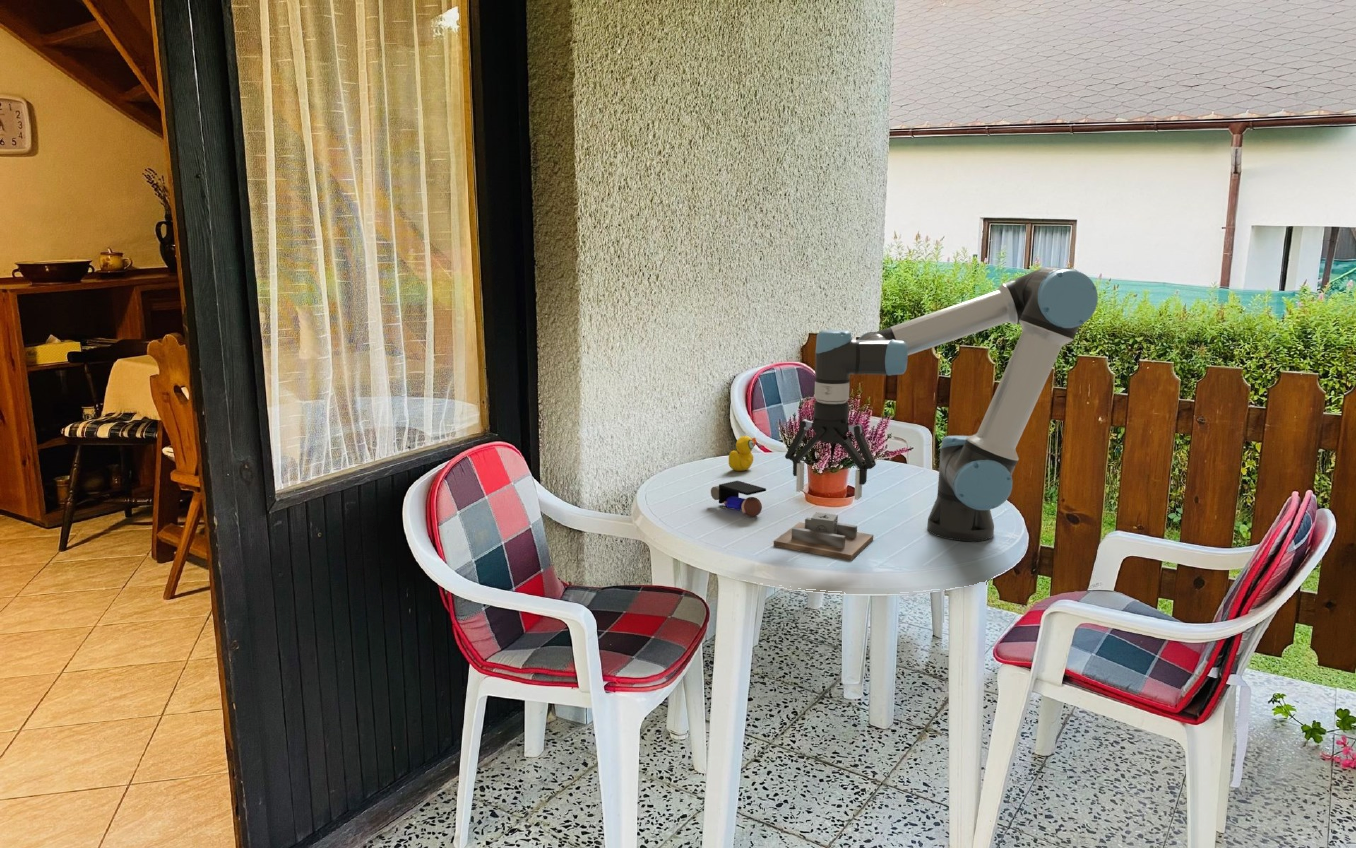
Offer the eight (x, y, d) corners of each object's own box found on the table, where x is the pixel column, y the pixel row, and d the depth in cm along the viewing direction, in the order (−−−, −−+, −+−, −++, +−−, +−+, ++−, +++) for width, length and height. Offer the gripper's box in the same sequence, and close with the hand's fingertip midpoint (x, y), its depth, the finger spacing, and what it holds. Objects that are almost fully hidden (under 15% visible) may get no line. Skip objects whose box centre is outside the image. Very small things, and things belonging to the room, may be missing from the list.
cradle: (873, 539, 215) (874, 524, 214) (851, 560, 201) (852, 544, 200) (799, 527, 223) (800, 512, 223) (773, 546, 209) (774, 530, 209)
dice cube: (810, 539, 211) (811, 518, 210) (815, 533, 215) (816, 512, 214) (832, 542, 209) (833, 521, 208) (836, 536, 213) (837, 514, 212)
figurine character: (709, 512, 239) (748, 520, 227) (707, 482, 238) (746, 489, 226) (729, 507, 243) (769, 516, 231) (728, 478, 242) (767, 485, 230)
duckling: (746, 465, 281) (747, 432, 279) (761, 468, 278) (762, 435, 276) (723, 471, 273) (724, 438, 271) (737, 475, 270) (738, 441, 267)
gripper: (772, 398, 208) (770, 491, 212) (882, 408, 197) (878, 505, 201) (784, 393, 215) (782, 483, 219) (892, 402, 203) (888, 497, 207)
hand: (828, 494), depth 210 cm, fingers open, 13 cm apart
